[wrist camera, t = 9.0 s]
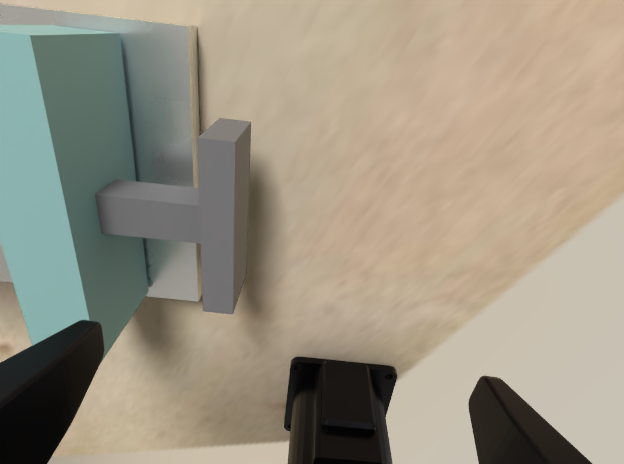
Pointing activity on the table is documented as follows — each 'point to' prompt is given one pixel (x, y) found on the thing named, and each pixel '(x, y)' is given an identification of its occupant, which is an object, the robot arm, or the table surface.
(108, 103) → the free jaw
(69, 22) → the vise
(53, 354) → the robot arm
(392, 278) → the table surface
